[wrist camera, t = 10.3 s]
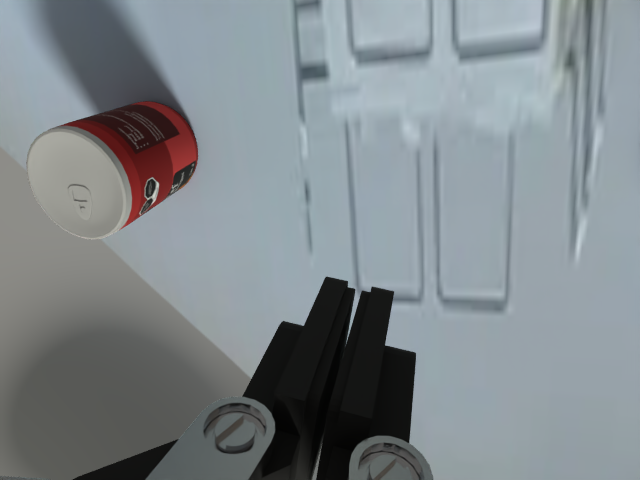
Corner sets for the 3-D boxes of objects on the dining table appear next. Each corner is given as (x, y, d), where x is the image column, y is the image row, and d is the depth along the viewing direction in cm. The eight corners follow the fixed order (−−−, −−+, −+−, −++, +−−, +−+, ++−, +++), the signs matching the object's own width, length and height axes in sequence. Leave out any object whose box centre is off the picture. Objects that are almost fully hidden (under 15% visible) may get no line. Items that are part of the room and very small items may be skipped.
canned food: (144, 196, 44) (60, 248, 34) (106, 112, 41) (3, 143, 31) (214, 179, 41) (145, 231, 32) (179, 88, 39) (92, 114, 29)
